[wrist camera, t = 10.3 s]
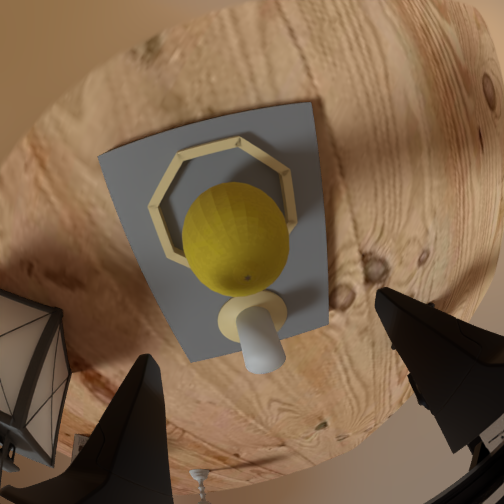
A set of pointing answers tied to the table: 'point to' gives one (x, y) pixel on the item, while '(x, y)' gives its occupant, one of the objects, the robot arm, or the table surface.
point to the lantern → (31, 380)
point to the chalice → (200, 482)
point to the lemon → (235, 239)
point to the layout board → (186, 192)
